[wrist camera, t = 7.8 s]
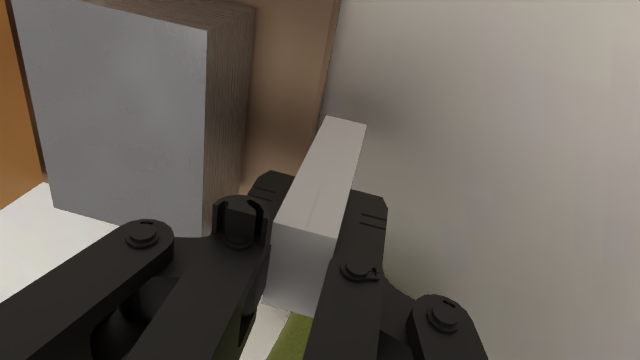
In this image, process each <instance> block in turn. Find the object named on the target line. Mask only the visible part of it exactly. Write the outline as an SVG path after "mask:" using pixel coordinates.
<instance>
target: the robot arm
mask: <svg viewBox="0 0 640 360" xmlns="http://www.w3.org/2000/svg"><path fill="white" fill-rule="evenodd" d="M366 127H367V125H366V124H362V123H357V122H353V121H349V120H345V119H341V118H337V117H333V116H328V115H326V117H325V119H324V121H323V123H322V125H321V127H320V129H319V131H318V133H317V135H316V137H315V139H314V141H313V143H312V145H311V147H310V149H309V151H308V153H307V155H306V157H305V159H304V161H303V163H302V165H301V167H300V169H299V171H298V173H297V175H296V176H292V175H288V174H284V173H281V172H277V171H273V170H269V171H267V172H266V173H264V174H262V175H260V176H259V177H258V178H257V180H256V181H255V183H254V184H253V186H252V188H251V189H250V190H249V192H248V194H247V196H246V195H228V196H226V197H223V198H220V199H218V200H217V201H216V202H215V203H214V204H213V205H212V230H211V234H210V235H209V236H205V237H194V238H191V237H174V233H173V231H172V228H171V227H170V226H168V225H167V224H166V223H164V222H162V221H158V220H155V219H139V220H134V221H130V222H128V223H126V224H123V225H121V226H120V227H118V228H116V229H115V230H113V231H112V232H110V233H109V234H107V235H106V236H104V237H102V238H101V239H99V240H98V241H96V242H95V243H93V244H92V245H90V246H88V247H87V248H85V249H84V250H82V251H81V252H79V253H78V254H76V255H75V256H73V257H71V258H70V259H68V260H67V261H65V262H64V263H62V264H61V265H59V266H57V267H56V268H54V269H53V270H51V271H50V272H48V273H47V274H45V275H44V276H42V277H40V278H39V279H37V280H36V281H34V282H33V283H31V284H30V285H28V286H26V287H25V288H23V289H22V290H20V291H19V292H17V293H16V294H14V295H12V296H11V297H9V298H8V299H6V300H5V301H3V302H2V303H0V360H239V358H240V356H241V353H242V351H243V348H244V346H245V344H246V341H247V339H248V336H249V334H250V332H251V329H252V327H253V324H254V322H255V318H256V312H257V306H258V303H259V301H260V299H261V296H262V294H263V297H262V303H263V304H266V305H270V306H273V307H277V308H280V309H284V310H287V311H291V312H294V313H298V314H301V315H305V316H309V317H312V318H314V319H313V322H312V326H311V330H310V333H309V337H308V341H307V344H306V348H305V352H304V355H303V359H302V360H488V357H487V355H486V352H485V350H484V348H483V345H482V343H481V340H480V338H479V335H478V333H477V331H476V328H475V326H474V323H473V321H472V319H471V318H470V316H469V315H468V313H467V311H466V310H464V309H463V308H462V307H461V306H460V305H459V304H458V303H456V302H455V301H453V300H451V299H449V298H447V297H444V296H440V295H436V294H432V295H424V296H422V297H420V298H418V299H417V300H414V299H412V298H410V297H409V296H407V295H405V294H403V293H402V292H400V291H399V290H397V289H396V288H395V287H393V286H392V285H391V284H390V283H389V281H388V280H387V278H386V277H385V275H384V272H383V269H382V261H383V251H384V242H385V233H386V231H385V230H386V224H387V222H386V221H387V214H388V207H387V206H386V204H385V202H384V200H383V198H382V197H379V196H375V195H371V194H367V193H363V192H360V191H356V190H352V189H351V186H352V182H353V178H354V174H355V171H356V167H357V163H358V159H359V155H360V151H361V147H362V143H363V139H364V135H365V131H366Z"/></svg>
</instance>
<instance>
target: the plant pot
mask: <svg viewBox="0 0 640 360" xmlns="http://www.w3.org/2000/svg"><path fill="white" fill-rule="evenodd" d="M313 319H314V318H312V317H309V316H305V315H301V314H298V313H294V312H291V314H290V316H289V318H288V320H287V322H286V324H285V326H284V328H283V330H282V332H281V333H280V335H279V337H278V339H277V341H276V343H275V345H274V346H273V348H272V350H271V352H270V354H269V356H268V357H267V359H266V360H302V359H303V355H304V352H305V348H306V344H307V341H308V337H309V333H310V330H311V326H312V322H313Z"/></svg>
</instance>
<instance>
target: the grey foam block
mask: <svg viewBox="0 0 640 360" xmlns="http://www.w3.org/2000/svg"><path fill="white" fill-rule="evenodd" d="M11 3H12V7H13V12H14V17H15V22H16V27H17V32H18V36H19V41H20V46H21V51H22V56H23V60H24V65H25V70H26V75H27V80H28V84H29V89H30V94H31V99H32V104H33V109H34V113H35V118H36V123H37V128H38V133H39V137H40V142H41V147H42V152H43V157H44V161H45V166H46V171H47V176H48V181H49V186H50V190H51V195H52V200H53V205H54V208H58V209H61V210H65V211H69V212H72V213H76V214H79V215H83V216H86V217H90V218H94V219H97V220H101V221H104V222H108V223H112V224H115V225H119V226H121V225H123V224H126V223H128V222H130V221H134V220H139V219H155V220H158V221H162V222H164V223H166V224H167V225H168V226H170V227H171V228H172V231H173V233H174V237H191V238H194V237H205V236H209V235H210V234H211V230H212V205H213V204H214V203H215V202H216V201H217V200H218V199H220V198H223V197H226V196H228V195H238V193H239V189H240V178H241V166H242V155H243V143H244V132H245V120H246V108H247V97H248V85H249V74H250V62H251V51H252V39H253V28H254V16H255V8H252V7H248V6H243V5H239V4H235V3H230V2H226V1H222V0H11Z"/></svg>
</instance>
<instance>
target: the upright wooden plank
mask: <svg viewBox="0 0 640 360" xmlns="http://www.w3.org/2000/svg"><path fill="white" fill-rule="evenodd" d="M42 182H43V177H42V172H41V167H40V163H39V158H38V153H37V149H36V144H35V139H34V135H33V130H32V126H31V121H30V116H29V112H28V107H27V102H26V98H25V93H24V88H23V84H22V79H21V75H20V70H19V65H18V61H17V56H16V51H15V47H14V42H13V37H12V33H11V28H10V24H9V19H8V14H7V10H6V5H5V0H0V210H1V209H3V208H4V207H6V206H7V205H9V204H10V203H12V202H13V201H15V200H16V199H18V198H19V197H21V196H22V195H24V194H25V193H27V192H28V191H30V190H31V189H33V188H34V187H36V186H37V185H39V184H40V183H42Z"/></svg>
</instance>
